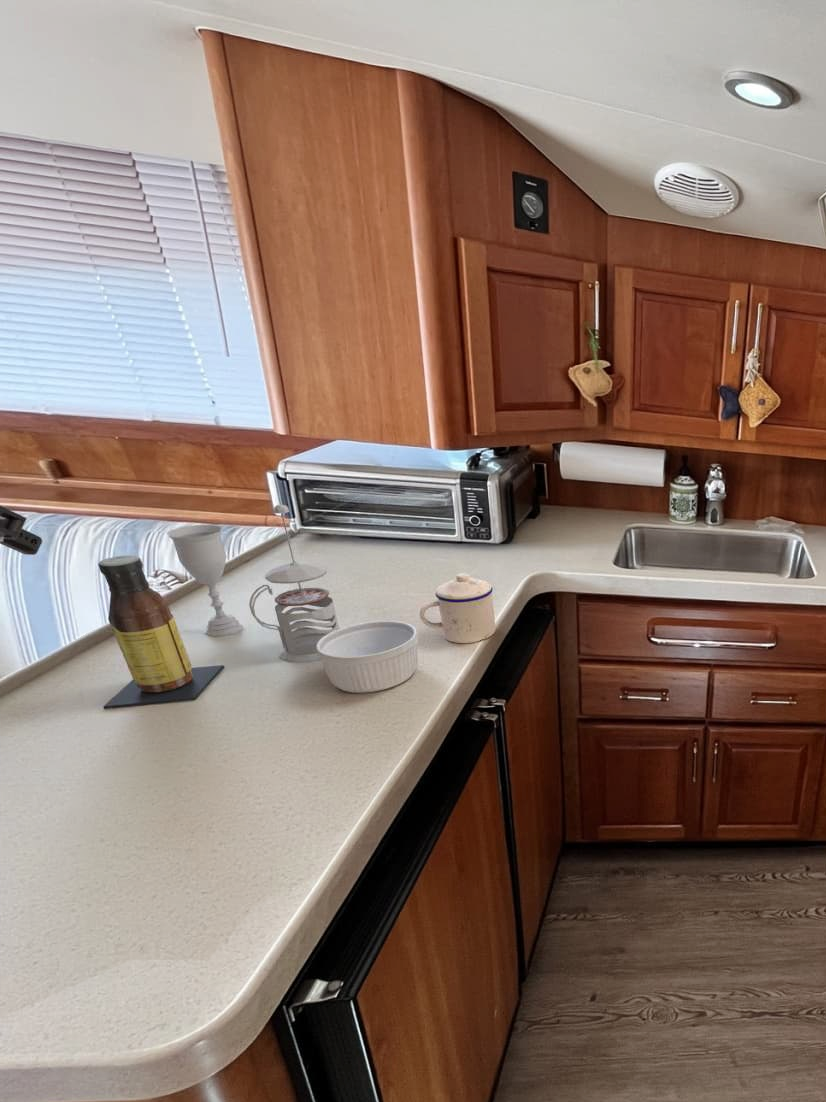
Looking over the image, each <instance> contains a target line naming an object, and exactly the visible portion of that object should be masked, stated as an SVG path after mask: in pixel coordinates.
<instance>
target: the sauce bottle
mask: <svg viewBox="0 0 826 1102" xmlns="http://www.w3.org/2000/svg"><path fill="white" fill-rule="evenodd" d="M97 563H98V564H97V565H98V569H99V571H100V573H101V574H102V575H103V576H104V579H105V581H106V583H107V585H108V590H109V592H110V598H109V609H108V618H107V619H108V622H109V624H110V627H111V629H112V632H113V634H114V637H115V639H116V642H117V644H118V646H119V649H120V651H121V653H122V656H123V658H124V661H125V663H126V666H127V667H128V671H129V673H130V675H131V677H132V680H134V682H135V683H136V684H137V686H138V688H140V689H141V690H142V691H145V692H149V693H151V692H152V693H156V692H166V691H171V690H174V689H176V688H179V687H181V686H183V685H186V684H188V683H189V682H190V681H191V680H192V679H193V671H192V670H191V669H192V668H193V666H192V663H191V661H190V658H189V655H188V653H187V650H186V647H185V643H184V642H183V639H182V636H181V634H180V631H179V628H178V625H177V623H176V621H175V617H174V615H173V614H172V612H171V610H170V607H169V603H168V602H167V600H166V598H164V597H163V596H162V595H161V594H160V593H159V592H158V591H156V590H154V589H153V588H151V587H150V583H149V581H147V578H146V575H145V573H144V570H143V566H144V564H143V561H142V559H141V558H140V556H138V555H132V554H126V555H117V556H112V557H107V558H103V559H101V560H100V561H98V562H97Z"/></svg>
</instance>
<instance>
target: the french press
mask: <svg viewBox="0 0 826 1102" xmlns="http://www.w3.org/2000/svg"><path fill="white" fill-rule="evenodd" d="M273 512H274V514H280V515H281V518H282V522H283V527H284V531H285V535H286V539H287V542H288V548H289V551H290V556H291V559H292V562H286V563H284V564H281V565H278V566H276V567H273V568H271V569H270V570H269V571H268V572H266V573H265V574H264V579H265V580H267V582H269V583H272V584H280V585H281V584H298V588H296V589H291V590H287V591H284V592H282V593H279V594H278V595H277V596H276V597H274V602H275V603H276V604H275V606H274V611H275V614H276V619H277V622H278V625H277V624H271V623H266V622H264V621H262V620H260V619H259V617H258V616H256V611H255V605H256V601H257V599H258V597H259V596H260V595H261V594H262V593H263V592H265V591H267V590H268V591H267V592H268V593H269V595H271V596H273V595H274V594H273V589H272V588H271V587H270V585H268V584H262V585H261V586H259V587H258V588H256V589H255V590H254V592H253V593H252V594H251V596H250V599H249V609H250V613H251V616H253V618H254V619H255V620H256V622H257V623H258V624H259V625H260V626H262V627H263V628H266V629H269V630H275V631H278V633H279V637H280V641H281V644H282V647H281V649H280V650H279V651H278V657H279V658H280V659H282V660H283V661H287V662H294V663H302V662H314V661H318V660H321V659H320V658H319V656H318V654H317V649H316V645H317V643H318V641H319V640H320V639H321V638H323V637H324V636H325V635H327V634H329V633H331V632H333V631H335V630H338V629H340V627H339V622H338V616H337V614H336V608H335V603H334V600H333V598H332V597H330V596H329V595H330V591H329V590H328V589H325V588H322V587H303V588H302V587H301V583H306V582H310V581H314V580H318V579H320V578H323V576H325V575H326V574H327V572H328V567H326V566H324V565H322V564H319V563H315V562H309V561H295V558H294V557H295V556H294V553H293V549H292V545H291V542H290V538H289V537H290V536H289V532H288V529H287V525H286V520H285V516H284V514H286V513H289V512H290V509H289V506H287V505H286V504H277V505H275V506H274V508H273ZM264 587H265V588H264ZM263 588H264V589H263ZM261 589H262V590H261ZM259 590H260V591H259ZM258 591H259V592H258ZM304 606H312V607H317V608H319V609H314V608H311V607H310V608H309V607H304ZM288 607H291V608H290V609H288V610H286V609H287V608H288ZM284 610H286V611H285V612H283V611H284ZM300 611H303V612H300ZM294 612H298V613H294ZM299 612H300V613H299ZM310 620H316V621H321V622H315V621H310ZM314 627H319V628H325V629H319V628H314ZM326 628H327V629H326ZM330 628H331V629H330Z"/></svg>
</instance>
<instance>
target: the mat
mask: <svg viewBox="0 0 826 1102" xmlns="http://www.w3.org/2000/svg"><path fill="white" fill-rule="evenodd" d="M224 668H225V665H224V664H219V665H208V666H198V667H197V666H196V667H195V666H194V667H192V669H191V670H192V671H193V679H192V680H191V681H190V682H189V683H188V684H186V685H183V686H181V687H179V688H176V689H174V690H171V691H166V692H156V693H152V692H151V693H149V692H145V691H142V690H141V689H140V688H138V686H137V684H136V683H135V682H134V680H133V679H132V680H131V681H130V682H129V683H127V684H126V685H125V686H124V687H122V689H120V691H118V692H117V693H116V694H115V695H114V696H113V697H112V698H110V699H109V700H108V701H107V702H106V703H105V704H104V705H103V706H102V708H103V709H104V710H107V709H117V708H125V707H126V708H127V707H136V706H146V705H157V704H167V703H177V702H186V701H187V702H188V701H195V700H196V699H197V698H198V697H199V696H201V694H202V693H203V692H204V691H205V690H206V688H207V687H208V686H209V685H210V684H211V683H212V682H213V681H214V680H215V678H217V676H218V675H219V674H220V673H221V672H222V670H224Z"/></svg>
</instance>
